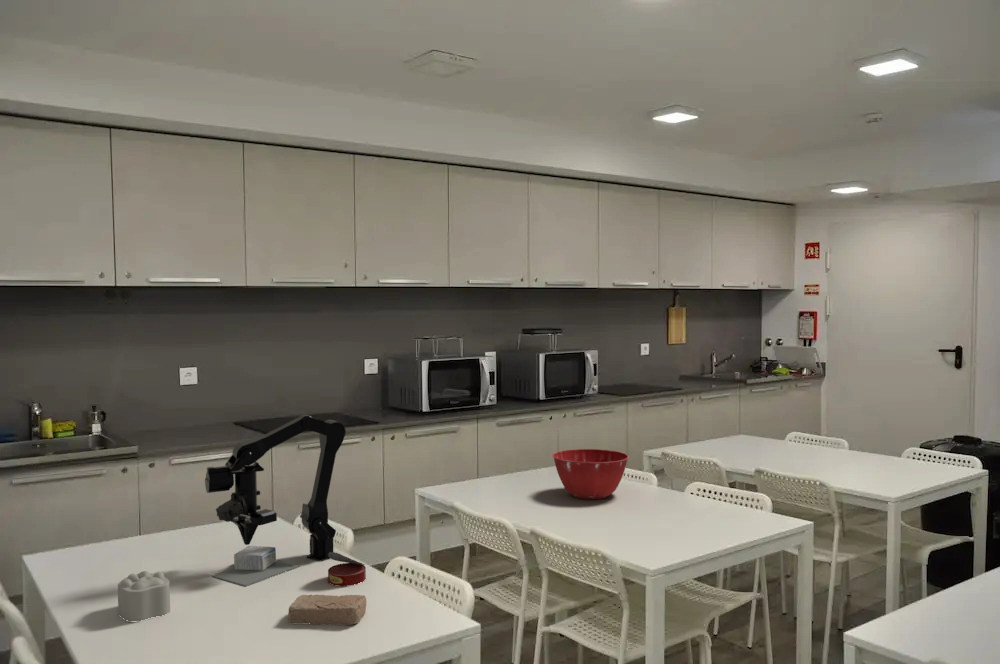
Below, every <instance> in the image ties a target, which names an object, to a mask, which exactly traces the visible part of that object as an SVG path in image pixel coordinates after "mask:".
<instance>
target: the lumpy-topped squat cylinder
mask: <svg viewBox="0 0 1000 664" xmlns="http://www.w3.org/2000/svg"><path fill="white" fill-rule="evenodd" d="M170 586H171V585H170V580H169V579H168V578H167V577H166V576H165V574H164V573H163V572H162V571H156V572H154V573H150V572H149V571H147V570H142V571H140V572H139V573H136V574H135V573H130V574H128V576H127V577H124V578H123V579H121V580H120V581H119V582H118V583H117V605H118V607H117V610H118V614H117V615H118V616H119V615H120V616H121V617H122V618H124V619H125V620H128V621H141V620H145V619H148V618H151V617H156V616H160V617H163V616H162V615H164V616H166V615H165V614H167V613H168V614H169V613H170V612H171V595H170V593H171V592H170V588H171V587H170ZM168 614H167V615H168ZM120 616H119V617H120ZM121 617H120V618H121ZM122 618H121V619H122ZM156 618H157V617H156ZM125 620H124V621H125ZM148 620H149V619H148ZM145 621H146V620H145Z"/></svg>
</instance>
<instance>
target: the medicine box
mask: <svg viewBox="0 0 1000 664" xmlns="http://www.w3.org/2000/svg"><path fill="white" fill-rule="evenodd" d="M276 560H277V550H276V547H274V546H262V545H246V547H244V548H242V549H241V550H239V551H237V552H236V553H234V554H233V565H234V567H233V568H234V569H235V570H255V571H263V570H264V569H266V568H267V567H269V566H270V565H272V564H273V563H275V562H276Z"/></svg>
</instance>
